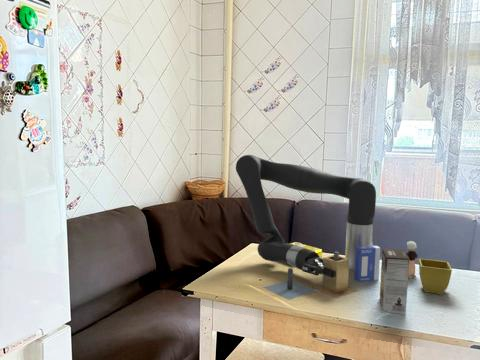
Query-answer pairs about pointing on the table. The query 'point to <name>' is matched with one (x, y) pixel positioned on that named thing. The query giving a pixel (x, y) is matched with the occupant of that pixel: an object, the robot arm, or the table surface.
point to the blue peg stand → (290, 288)
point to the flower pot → (434, 275)
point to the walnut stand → (350, 290)
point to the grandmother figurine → (412, 258)
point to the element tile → (309, 248)
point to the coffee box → (394, 280)
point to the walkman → (367, 263)
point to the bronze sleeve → (336, 274)
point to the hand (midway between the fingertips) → (340, 272)
